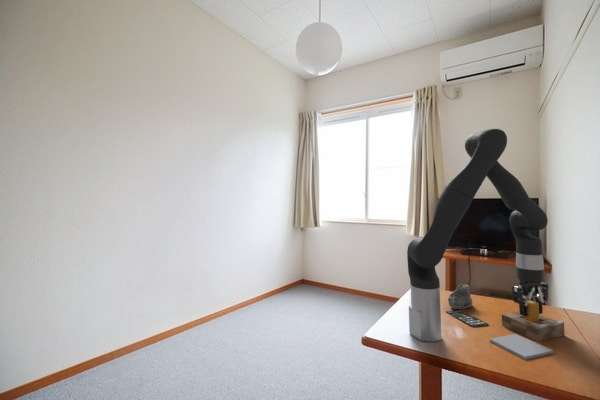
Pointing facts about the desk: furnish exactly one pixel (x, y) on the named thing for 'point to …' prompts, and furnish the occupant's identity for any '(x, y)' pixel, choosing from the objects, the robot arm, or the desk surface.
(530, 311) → the supplement box
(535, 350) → the mat
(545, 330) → the box
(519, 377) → the desk surface
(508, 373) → the desk surface
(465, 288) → the mineral rock
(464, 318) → the smartphone
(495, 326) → the desk surface
